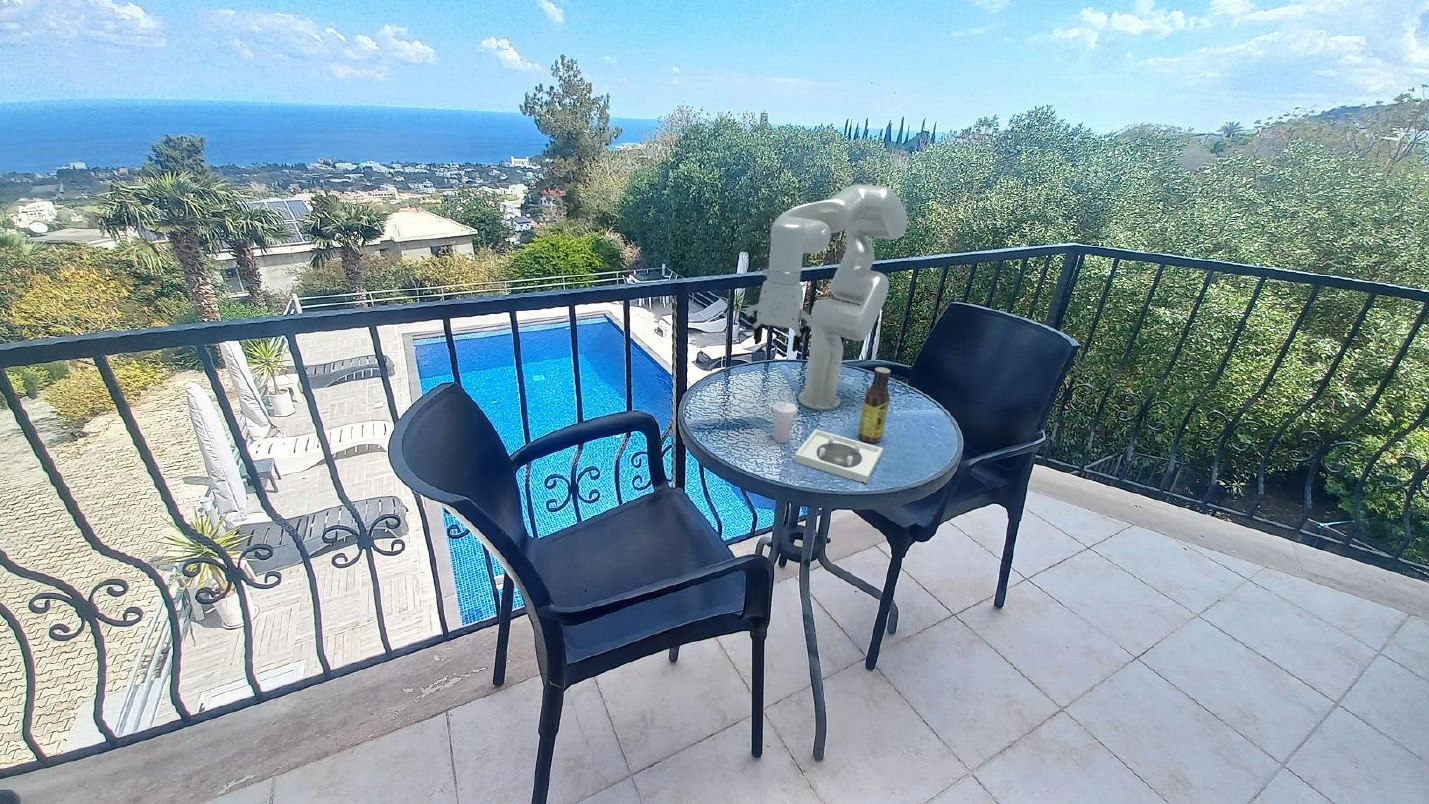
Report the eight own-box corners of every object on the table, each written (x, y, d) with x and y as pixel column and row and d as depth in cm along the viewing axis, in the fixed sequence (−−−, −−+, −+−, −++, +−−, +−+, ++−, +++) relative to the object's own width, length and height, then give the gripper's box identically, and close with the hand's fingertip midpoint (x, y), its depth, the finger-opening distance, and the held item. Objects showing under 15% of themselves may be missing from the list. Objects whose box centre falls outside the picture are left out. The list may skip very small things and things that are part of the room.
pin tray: (814, 436, 145) (815, 424, 143) (881, 455, 138) (883, 443, 136) (794, 461, 133) (795, 449, 131) (866, 484, 126) (868, 471, 124)
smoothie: (795, 436, 145) (801, 388, 138) (790, 447, 139) (796, 398, 133) (772, 431, 146) (777, 384, 140) (766, 442, 141) (771, 394, 135)
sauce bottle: (876, 446, 142) (891, 377, 133) (854, 439, 144) (866, 371, 136) (884, 436, 147) (898, 369, 138) (861, 429, 150) (874, 363, 141)
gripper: (743, 275, 125) (738, 344, 133) (816, 285, 119) (806, 357, 127) (754, 269, 132) (748, 336, 139) (824, 279, 126) (814, 348, 133)
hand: (776, 346), depth 133 cm, fingers open, 9 cm apart
